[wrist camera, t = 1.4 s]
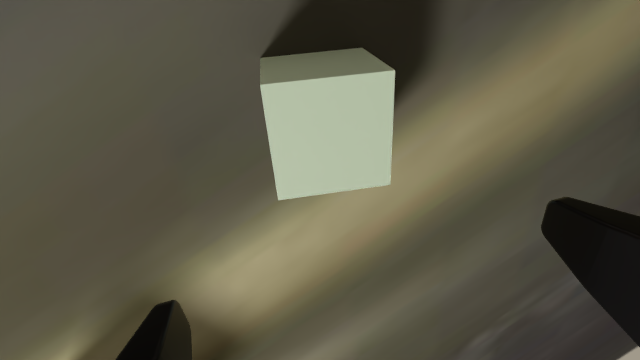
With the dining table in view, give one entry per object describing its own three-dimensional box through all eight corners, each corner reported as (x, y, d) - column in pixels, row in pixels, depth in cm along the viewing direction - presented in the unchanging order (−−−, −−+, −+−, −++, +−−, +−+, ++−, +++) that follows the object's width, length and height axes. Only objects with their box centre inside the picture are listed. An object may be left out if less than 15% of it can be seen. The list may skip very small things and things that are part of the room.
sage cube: (361, 47, 17) (395, 70, 13) (362, 139, 20) (390, 184, 15) (260, 57, 17) (259, 84, 12) (274, 150, 19) (278, 200, 15)
